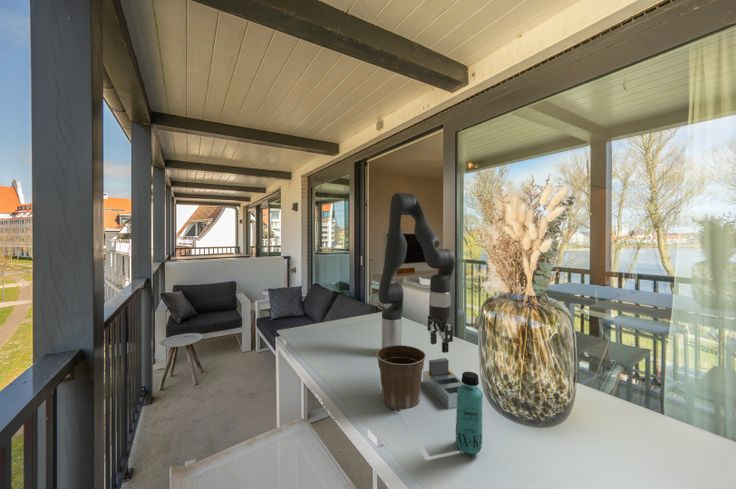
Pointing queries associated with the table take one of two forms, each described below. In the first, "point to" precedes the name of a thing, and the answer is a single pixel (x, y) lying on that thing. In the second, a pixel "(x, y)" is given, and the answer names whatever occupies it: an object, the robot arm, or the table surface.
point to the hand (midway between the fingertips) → (439, 347)
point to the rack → (443, 387)
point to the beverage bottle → (469, 414)
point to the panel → (438, 367)
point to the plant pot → (401, 375)
